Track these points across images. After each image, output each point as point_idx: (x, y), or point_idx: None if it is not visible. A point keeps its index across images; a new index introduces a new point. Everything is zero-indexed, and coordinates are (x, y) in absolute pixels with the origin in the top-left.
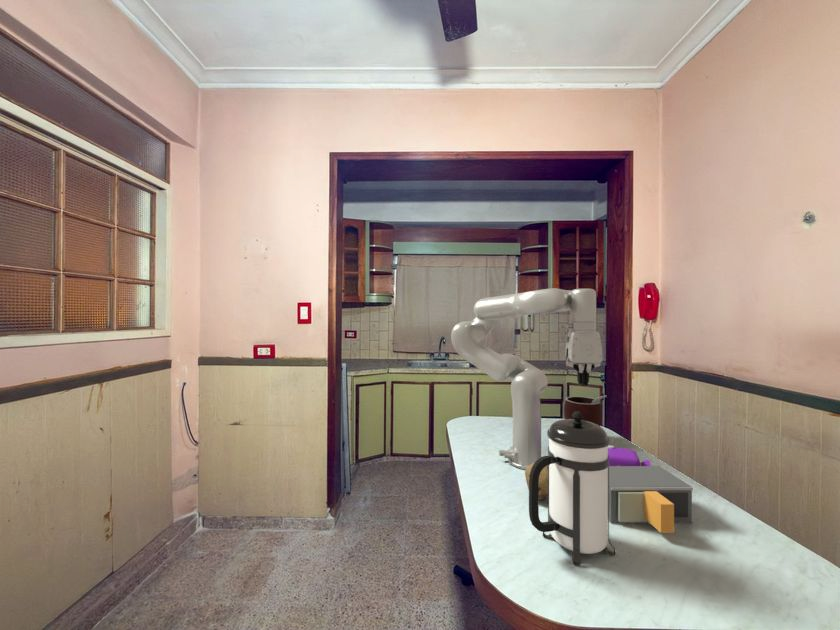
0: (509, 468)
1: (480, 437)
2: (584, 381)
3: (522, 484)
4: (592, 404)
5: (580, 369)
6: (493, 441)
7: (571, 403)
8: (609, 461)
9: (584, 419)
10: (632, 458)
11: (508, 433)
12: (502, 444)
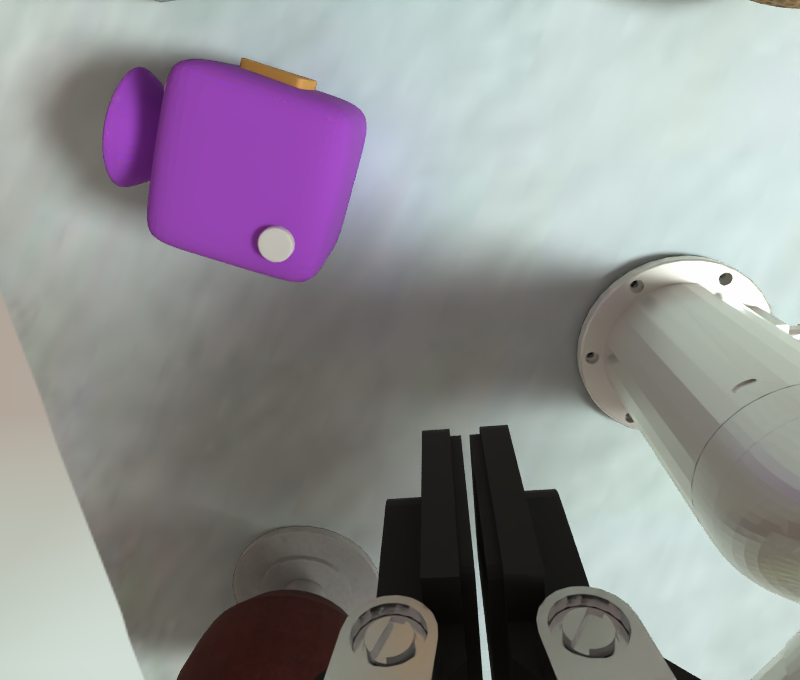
0: (786, 273)
1: (796, 620)
2: (486, 459)
3: (791, 88)
4: None
5: (627, 661)
6: (746, 578)
7: None
8: (338, 105)
9: (295, 636)
10: (203, 79)
11: None
12: (713, 546)
